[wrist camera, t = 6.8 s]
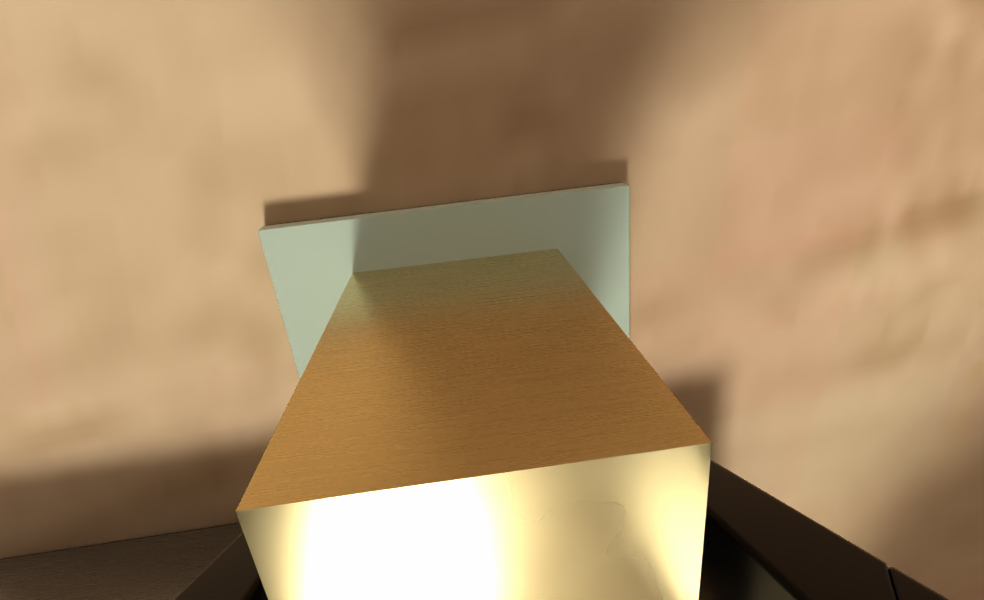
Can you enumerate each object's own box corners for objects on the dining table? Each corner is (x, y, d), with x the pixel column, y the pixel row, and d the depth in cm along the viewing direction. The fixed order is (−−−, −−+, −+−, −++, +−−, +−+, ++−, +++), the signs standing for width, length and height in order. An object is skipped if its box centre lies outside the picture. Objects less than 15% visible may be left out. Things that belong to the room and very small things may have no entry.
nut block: (557, 248, 11) (711, 442, 5) (565, 417, 13) (687, 726, 7) (352, 272, 11) (235, 511, 5) (388, 442, 13) (338, 787, 6)
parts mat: (623, 182, 11) (629, 185, 11) (624, 436, 14) (629, 445, 14) (263, 226, 11) (258, 230, 11) (334, 479, 14) (331, 490, 13)
